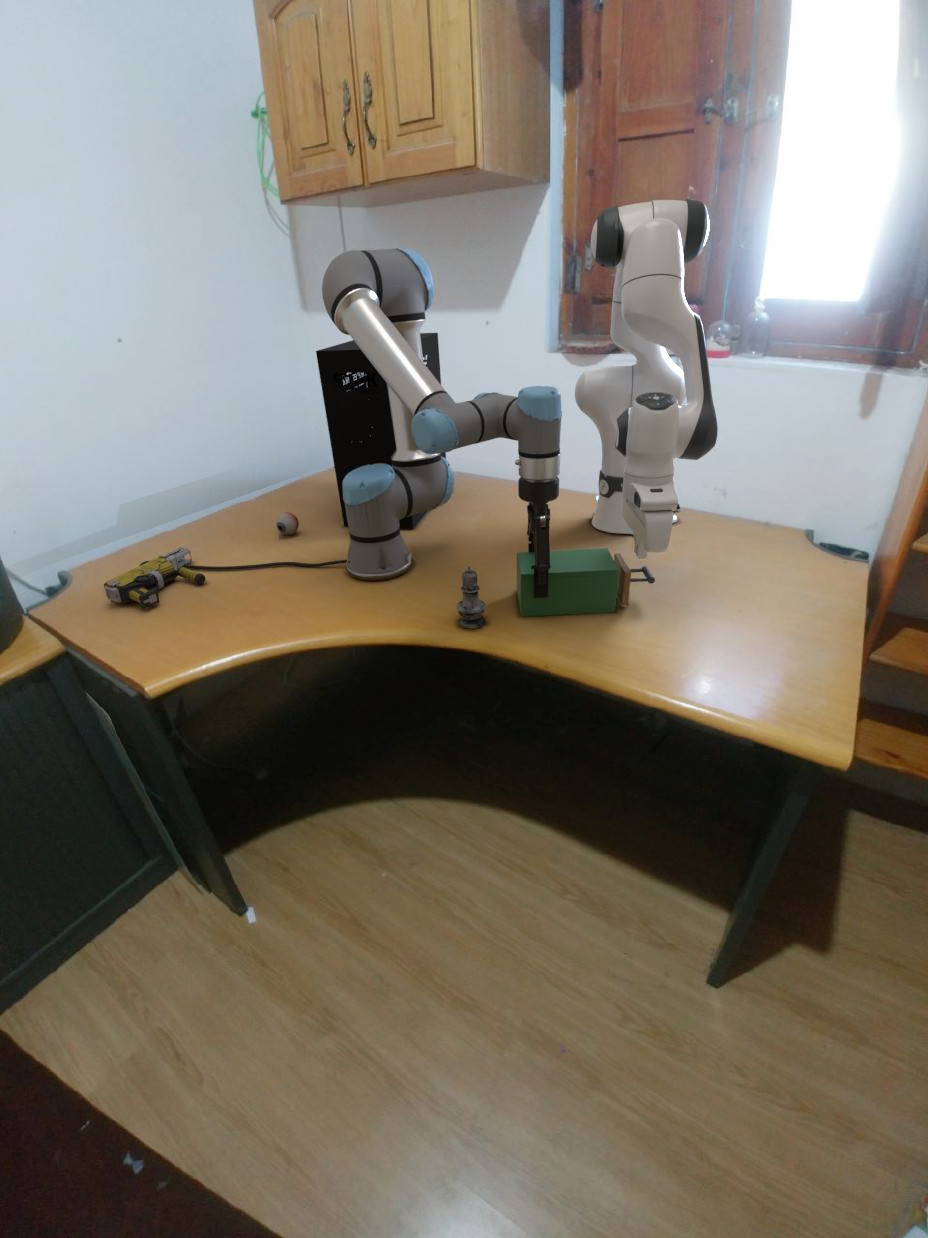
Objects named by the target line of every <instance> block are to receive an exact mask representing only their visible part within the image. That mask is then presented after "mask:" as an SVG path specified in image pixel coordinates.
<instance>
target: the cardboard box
mask: <svg viewBox="0 0 928 1238" xmlns="http://www.w3.org/2000/svg"><path fill="white" fill-rule="evenodd" d="M420 338H421V346H422V355H423V363H424V364H425V366H426V367H427V368H428V369H429V371H430V372H431V373H432V374H433V376H434V377H435V378H436V379H437V381H438V382H439V383H440V384H441V385H442V377H441V376H442V375H441V361H440V345H439V333H438V332H420ZM315 355H316V360H317V367H318V373H319V379H320V386H321V391H322V398H323V404H324V411H325V417H326V422H327V428H328V435H329V441H330V442H329V443H330V448H331V454H332V459H333V460H332V461H333V467H334V472H335V478H336V479H335V480H336V485H337V493H338V497H339V503H340V509H341V516H342V523H343V527H348V521H347V515H346V509H345V503H344V500H343V480H344V478H345V476H346V475H347V474H348V473H350V472H351V471H353V470H355V469H357V468H359V467H362V466H366V465H373V464H378V463H382V464H388V465H390V466H391V467H392V461H391V456H392V455H393V453H394V452H395V450H396V444H395V437H394V430H393V423H392V416H391V409H390V403H389V396H388V389H387V383H386V381H385V380H384V379H383V378H382V376H381V375H380V374H379V372H378V371H377V370H376V368H375V367H374V366H373V365H372V363H371V362H370V361H369V359H368V358H367V357H366V356H365V354H364V353H363V352H362V350H361V349H360V348H359V346H358V345H357V344H356V343H355V341H354V340H353V339H352V340H349V341H346V342H342V343H339V344H335V345H332V346H329V347H325V348H322V349H318V350H315ZM446 453H447V452H443V453H441V457H444V458H445V459H446V460H447V454H446ZM427 512H428V511H424V512H421V513H418V514H415V515H412V516H409V517H406V518H403V519H400V520H399V524H400V530H403V529H404V530H414V529H415V528H416V526H417V525H418V524H419V522H420V521H421V520H422V519H423V518H424V516H425V515H426V514H427Z"/></svg>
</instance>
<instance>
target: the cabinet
mask: <svg viewBox="0 0 928 1238" xmlns="http://www.w3.org/2000/svg"><path fill="white" fill-rule="evenodd" d="M532 565H535V553H534V552H528V551H517V552H516V595H517V601H518V607H519V612H520V617H537V616H538V617H539V616H560V615H561V616H562V615H563V616H564V615H581V614H585V615H586V614H604V613H606V614H607V613H616V607H617V606H616V605H617V597H618V596H617V584H618V572H619V569H618V567H617V566H616V564H615V562H614V557H613V555H611V552H610V550H609V549H608V547H603V548H601V547H600V548H581V549H562V550H550V565H551V567H550V569H549V573H548V597H546V598H534V569H531V566H532Z"/></svg>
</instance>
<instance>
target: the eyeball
mask: <svg viewBox="0 0 928 1238" xmlns="http://www.w3.org/2000/svg"><path fill="white" fill-rule="evenodd" d="M299 525H300V522H299V519H298V517H297V516H296V515H295V514H294V513H292V512H287V511H286V512H282V513H280V514H279V515H278V516H277V517H276V520H275V527H276V529H277V530H278V531H279V532H280V533H281V534H282V535H285V536H286V535H287V536H289V535H293V534H295V533H296V532H297V531H298V529H299Z"/></svg>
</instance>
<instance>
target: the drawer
mask: <svg viewBox="0 0 928 1238" xmlns="http://www.w3.org/2000/svg"><path fill="white" fill-rule="evenodd" d="M613 560H614V562H615V564H616V566H617V567H618V569H619V572H618V584H617V596H616V597H617V599H618V601H619V603H620V605H621V606H622V607H626V606H629V599H630V588H631V583H640V582H648V583H649V584H654V583H655V581H656V578H655V577H654V575H653V574H652V572H651V570H650V568H649V567H648V566H647V565H643V566H641V567H639V568H629V566H628V564H627V562H626V561H625V559H624V557H623V555H622V554H621V553H619V552H618V553H616V552H615V553H614V557H613ZM632 573H642V574H643V576H644V577H632Z"/></svg>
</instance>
